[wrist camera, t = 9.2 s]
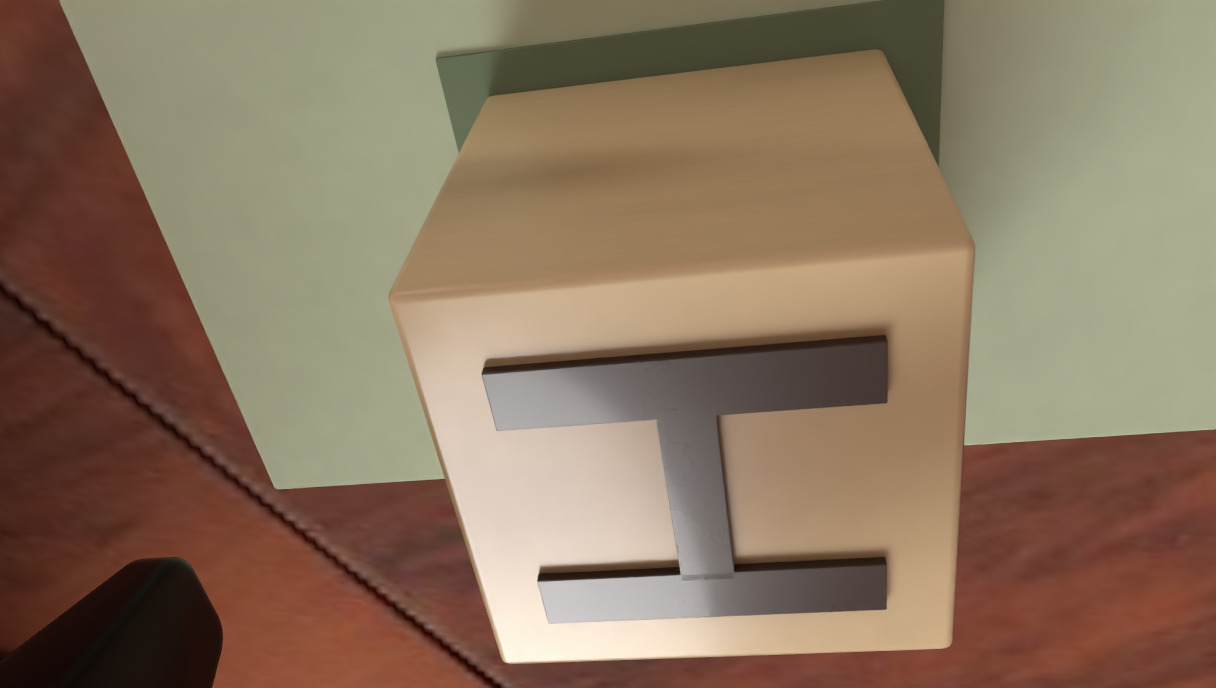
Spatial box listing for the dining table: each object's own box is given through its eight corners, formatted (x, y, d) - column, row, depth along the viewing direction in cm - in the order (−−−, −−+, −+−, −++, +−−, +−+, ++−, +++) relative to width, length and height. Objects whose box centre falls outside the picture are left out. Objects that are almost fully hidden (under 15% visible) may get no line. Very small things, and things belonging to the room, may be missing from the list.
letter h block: (884, 378, 13) (957, 661, 10) (554, 403, 14) (499, 676, 10) (884, 44, 11) (983, 245, 7) (484, 93, 12) (378, 301, 8)
